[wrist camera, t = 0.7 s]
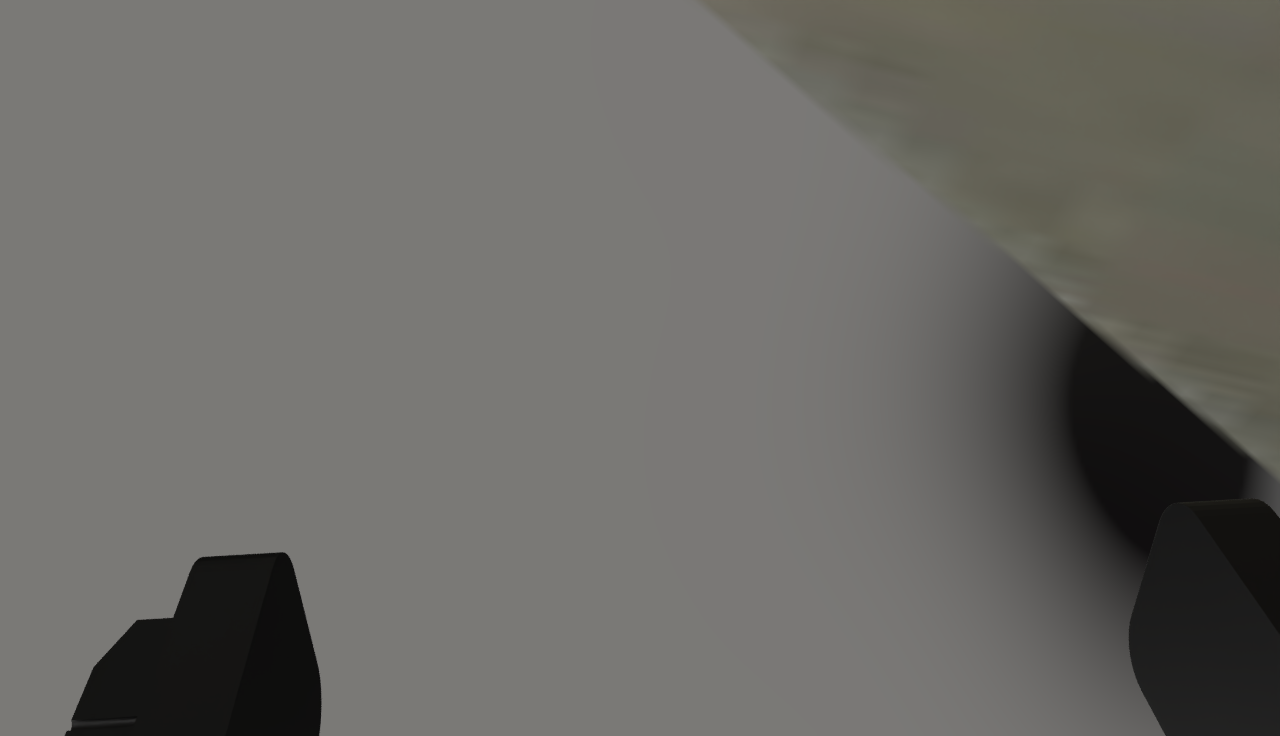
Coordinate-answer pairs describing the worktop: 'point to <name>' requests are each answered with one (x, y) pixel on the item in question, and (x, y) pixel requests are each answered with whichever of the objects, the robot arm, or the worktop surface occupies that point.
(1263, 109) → the worktop surface
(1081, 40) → the worktop surface
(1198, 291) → the worktop surface
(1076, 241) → the worktop surface
